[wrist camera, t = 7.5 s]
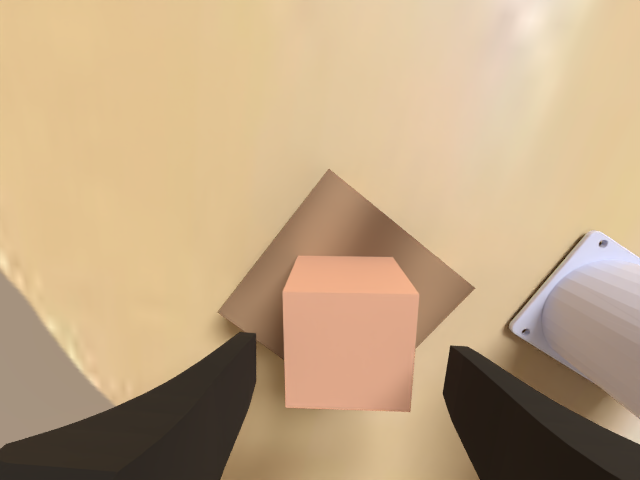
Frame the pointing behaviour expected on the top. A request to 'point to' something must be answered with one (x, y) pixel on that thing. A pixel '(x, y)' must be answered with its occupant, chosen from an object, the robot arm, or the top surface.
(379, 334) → the terracotta cube
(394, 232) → the walnut block
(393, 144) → the top surface
